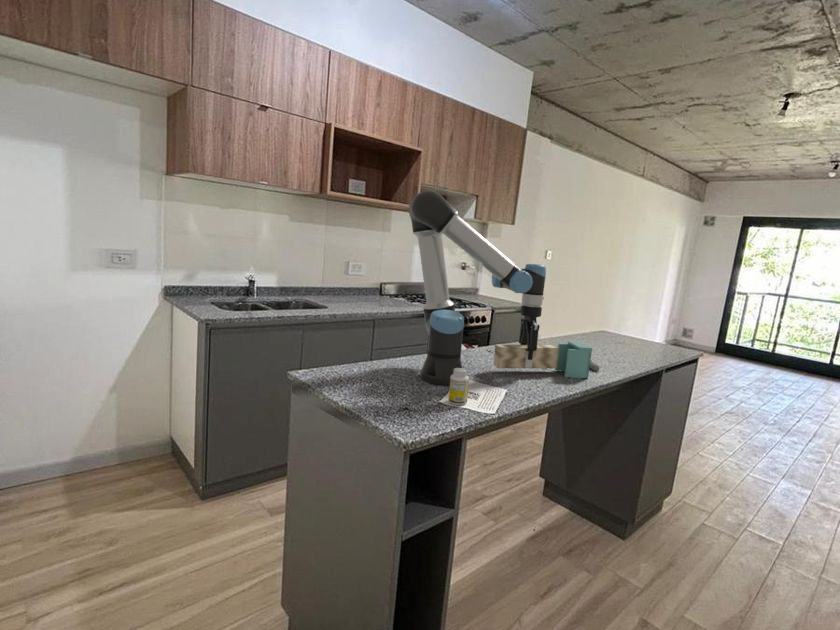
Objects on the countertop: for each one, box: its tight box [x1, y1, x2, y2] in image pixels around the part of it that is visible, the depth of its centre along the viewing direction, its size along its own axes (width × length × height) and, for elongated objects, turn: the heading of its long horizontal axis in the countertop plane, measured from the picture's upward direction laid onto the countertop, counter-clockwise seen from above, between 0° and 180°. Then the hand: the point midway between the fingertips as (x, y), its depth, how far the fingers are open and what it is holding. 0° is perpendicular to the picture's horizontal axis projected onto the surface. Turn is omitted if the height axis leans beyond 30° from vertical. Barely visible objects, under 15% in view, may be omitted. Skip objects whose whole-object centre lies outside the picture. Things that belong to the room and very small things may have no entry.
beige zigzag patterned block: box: [493, 344, 559, 370], centre depth 173 cm, size 24×5×8 cm, turn 103°
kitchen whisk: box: [589, 360, 600, 372], centre depth 198 cm, size 6×34×6 cm, turn 4°
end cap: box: [554, 341, 593, 379], centre depth 175 cm, size 9×10×12 cm
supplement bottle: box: [448, 368, 470, 406], centre depth 135 cm, size 6×6×10 cm
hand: (525, 365), depth 174 cm, fingers closed on beige zigzag patterned block, 5 cm apart
